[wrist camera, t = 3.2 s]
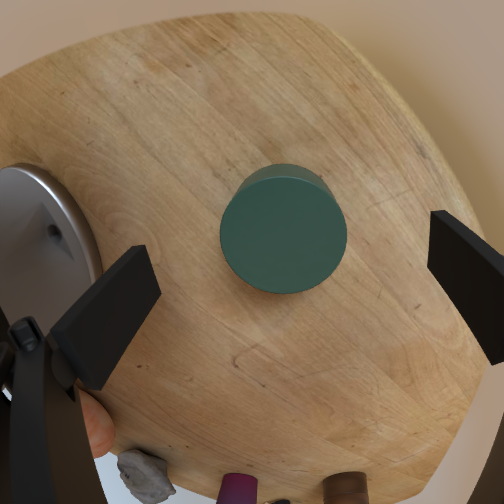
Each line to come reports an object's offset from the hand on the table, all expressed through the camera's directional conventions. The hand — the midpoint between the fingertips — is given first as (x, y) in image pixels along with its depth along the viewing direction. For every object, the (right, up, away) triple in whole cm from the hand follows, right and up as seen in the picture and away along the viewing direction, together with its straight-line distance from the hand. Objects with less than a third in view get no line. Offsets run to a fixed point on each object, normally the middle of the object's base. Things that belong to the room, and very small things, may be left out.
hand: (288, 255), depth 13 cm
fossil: (-16, -30, +22) cm, 40 cm away
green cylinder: (0, +2, +4) cm, 5 cm away
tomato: (-22, -18, +17) cm, 33 cm away
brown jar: (+12, -33, +20) cm, 40 cm away
